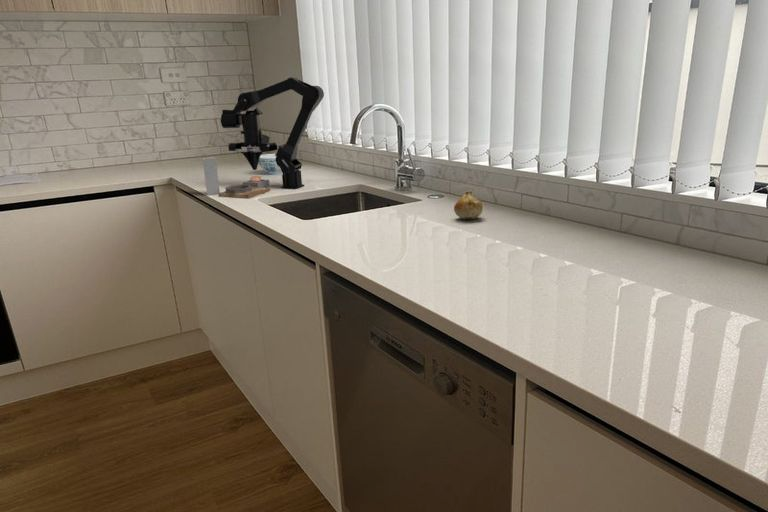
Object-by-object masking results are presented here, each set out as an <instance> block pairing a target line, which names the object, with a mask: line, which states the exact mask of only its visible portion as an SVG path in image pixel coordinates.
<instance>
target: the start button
mask: <svg viewBox="0 0 768 512" xmlns="http://www.w3.org/2000/svg"><path fill="white" fill-rule="evenodd" d="M261 179H262V176H260V175H254V176H253V175H252V176H250V177H249V180H250V181H251V182H260V181H261Z"/></svg>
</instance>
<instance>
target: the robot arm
mask: <svg viewBox="0 0 768 512" xmlns="http://www.w3.org/2000/svg"><path fill="white" fill-rule="evenodd" d="M289 91H294V92H295V93H297V94H298V95H300V96H302V99H301V107H300V110H299V112H298V114H297V117H296V119H295V122H294V124H293V127H292V129H291V131H290V134H289V136H288V138H287V141H286V143H283V144H280V145H278V144H277V143H276V142H271V141H270V138H271V137H270V136H269V135H268V136H267V134H266V135H265V134H263V133H262V129H260V128H259V121H258V116H261V115H264V113H263V112H262V111H261V110H260V109H259V108H258V106H260V105H261V104H262V103H264V101H266V100H268V99H272V98H274V97H277V96H279V95H281V94H284V93H287V92H289ZM324 95H325V93H324V90H323V88H322V87H320V86H319V85H312V84H310V83H308V82H304V81H302V80H300V79H298V78H297V77H294V76H293V77H288V78H287V79H284V80H282V81H280V82H278V83H277V82H276V83H275V84H273V85H269V86H266V87H264V88H261V89H259V90H254V91H253V90H252V91H248V92H243V93H240V94H239V95H238V97H237V102H236V104H235V106H234V107H233V109H222V110H221V111H222V113H221V117H220V125H221V126H222V128H223V129H239V128H241V126H242V130H241V131H240V134H241V135H242V136H243V141H234V142H230V143H229V144H228V145H227V146H228V147H227V148H228V151H229V152H236V151H237V150H241V151H240V154H242V155H243V156H244V157H245V159H246V160H247V161H248V163H249V165H250V167H251V169H252V170H254V171H255V170H258V165H259V163H258V162H259V158H260V155H263V153H266V152H269V153H270V152H273V151H277V152H276V153H274V154H275V156H276V159H275V161H276V163H277V165H278V166H279V167H280V168H281V171H282V175H281V179H282V186H281V188H282V189H291V188H293V189H294V188H296V189H298V187H299V188H301V186H302V187H305V184H303V179H302V178H303V177H302V170H301V169H302V166H303V163H302V162H301V161H299V159H297V157H298V156H297V155H298V149H299V144H300V142H301V139H302V138H303V136H304V133H305V130H306V127H307V126H308V124H309V122H310V119H311V117H312V114H313V112H314V111H315V110H316V108H317V107H318V106H319V105H320V104H321V102H322V100H323V99H324ZM250 109H254V110H250ZM242 112H244V113H242Z"/></svg>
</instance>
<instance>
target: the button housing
mask: <svg viewBox="0 0 768 512" xmlns="http://www.w3.org/2000/svg"><path fill="white" fill-rule="evenodd" d="M242 185H250V186H251V187H257V188H269V187H270V179H264V178H263V179H262V178H261V181H260V182H251V181H250V179H249V180H246V181H243V182H242ZM268 186H269V187H268Z"/></svg>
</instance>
